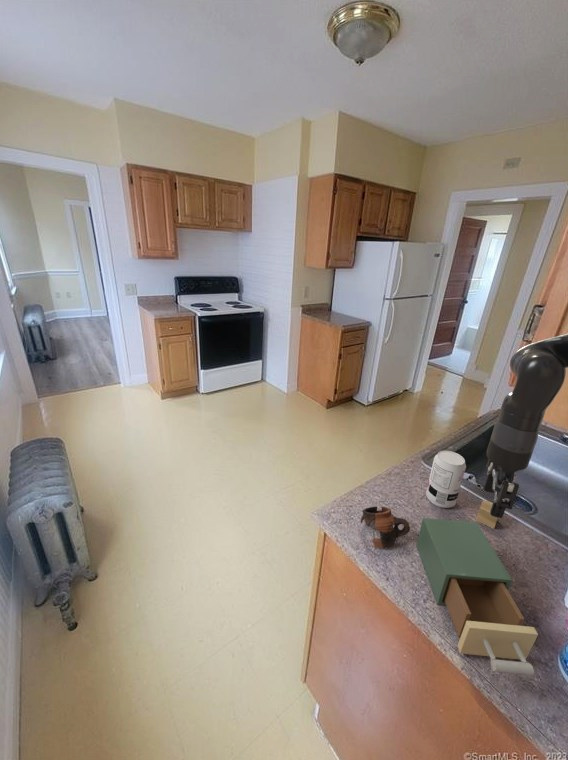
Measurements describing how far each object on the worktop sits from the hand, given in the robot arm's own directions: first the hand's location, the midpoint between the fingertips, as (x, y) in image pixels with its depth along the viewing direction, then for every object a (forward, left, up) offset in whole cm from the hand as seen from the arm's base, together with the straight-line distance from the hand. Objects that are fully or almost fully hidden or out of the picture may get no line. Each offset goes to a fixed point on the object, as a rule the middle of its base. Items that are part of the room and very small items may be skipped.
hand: (492, 502), depth 73 cm
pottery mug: (+22, -4, -16) cm, 27 cm away
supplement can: (+2, -19, -16) cm, 25 cm away
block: (-8, -12, -16) cm, 22 cm away
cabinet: (+8, +6, -16) cm, 19 cm away
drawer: (+8, +18, -15) cm, 25 cm away
